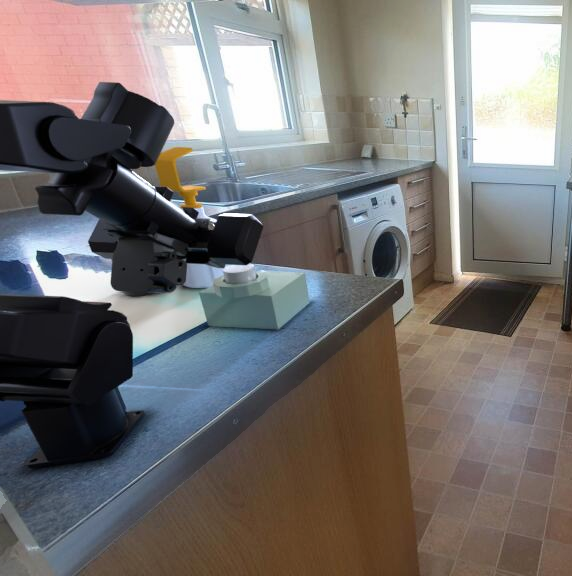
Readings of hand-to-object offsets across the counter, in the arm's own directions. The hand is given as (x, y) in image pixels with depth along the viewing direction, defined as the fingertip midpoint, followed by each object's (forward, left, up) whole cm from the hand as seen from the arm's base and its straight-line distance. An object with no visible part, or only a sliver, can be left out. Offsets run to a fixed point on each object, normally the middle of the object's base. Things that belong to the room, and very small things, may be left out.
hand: (222, 265), depth 58 cm
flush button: (+3, -1, -4) cm, 5 cm away
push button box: (+6, -2, -11) cm, 12 cm away
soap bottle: (+23, +12, -11) cm, 28 cm away
